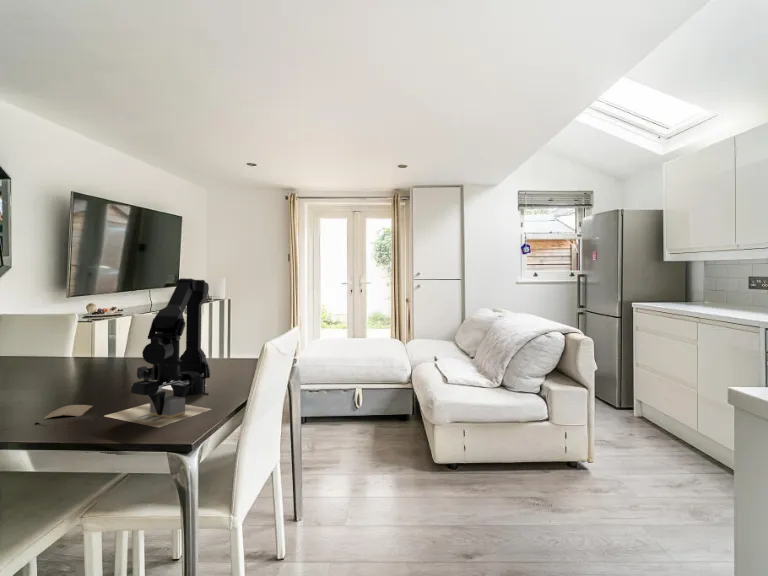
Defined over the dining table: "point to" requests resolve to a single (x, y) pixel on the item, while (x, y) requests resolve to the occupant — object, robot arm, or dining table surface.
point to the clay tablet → (69, 411)
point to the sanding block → (170, 407)
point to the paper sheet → (169, 387)
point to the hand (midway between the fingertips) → (167, 412)
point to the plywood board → (144, 417)
